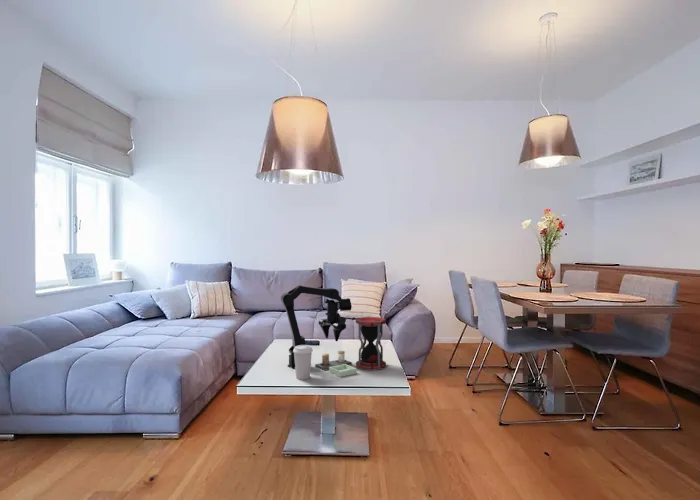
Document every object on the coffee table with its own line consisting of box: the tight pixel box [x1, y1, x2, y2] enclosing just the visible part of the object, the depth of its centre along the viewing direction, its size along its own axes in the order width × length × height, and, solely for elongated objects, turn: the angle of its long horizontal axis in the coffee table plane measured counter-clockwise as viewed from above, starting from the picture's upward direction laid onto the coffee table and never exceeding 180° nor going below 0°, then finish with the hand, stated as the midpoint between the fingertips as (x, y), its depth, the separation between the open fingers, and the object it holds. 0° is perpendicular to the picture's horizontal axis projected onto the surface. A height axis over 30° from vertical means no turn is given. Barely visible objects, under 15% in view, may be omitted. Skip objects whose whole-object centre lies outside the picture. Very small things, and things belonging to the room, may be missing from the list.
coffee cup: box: [293, 344, 313, 381], centre depth 201 cm, size 10×10×15 cm
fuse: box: [337, 350, 346, 363], centre depth 223 cm, size 4×4×7 cm
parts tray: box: [328, 364, 357, 378], centre depth 208 cm, size 10×10×2 cm
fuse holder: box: [314, 359, 353, 371], centre depth 220 cm, size 18×8×1 cm, turn 126°
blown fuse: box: [321, 353, 330, 367], centre depth 218 cm, size 4×4×7 cm
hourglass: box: [355, 316, 387, 371], centre depth 220 cm, size 16×16×25 cm
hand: (331, 339), depth 226 cm, fingers open, 9 cm apart
